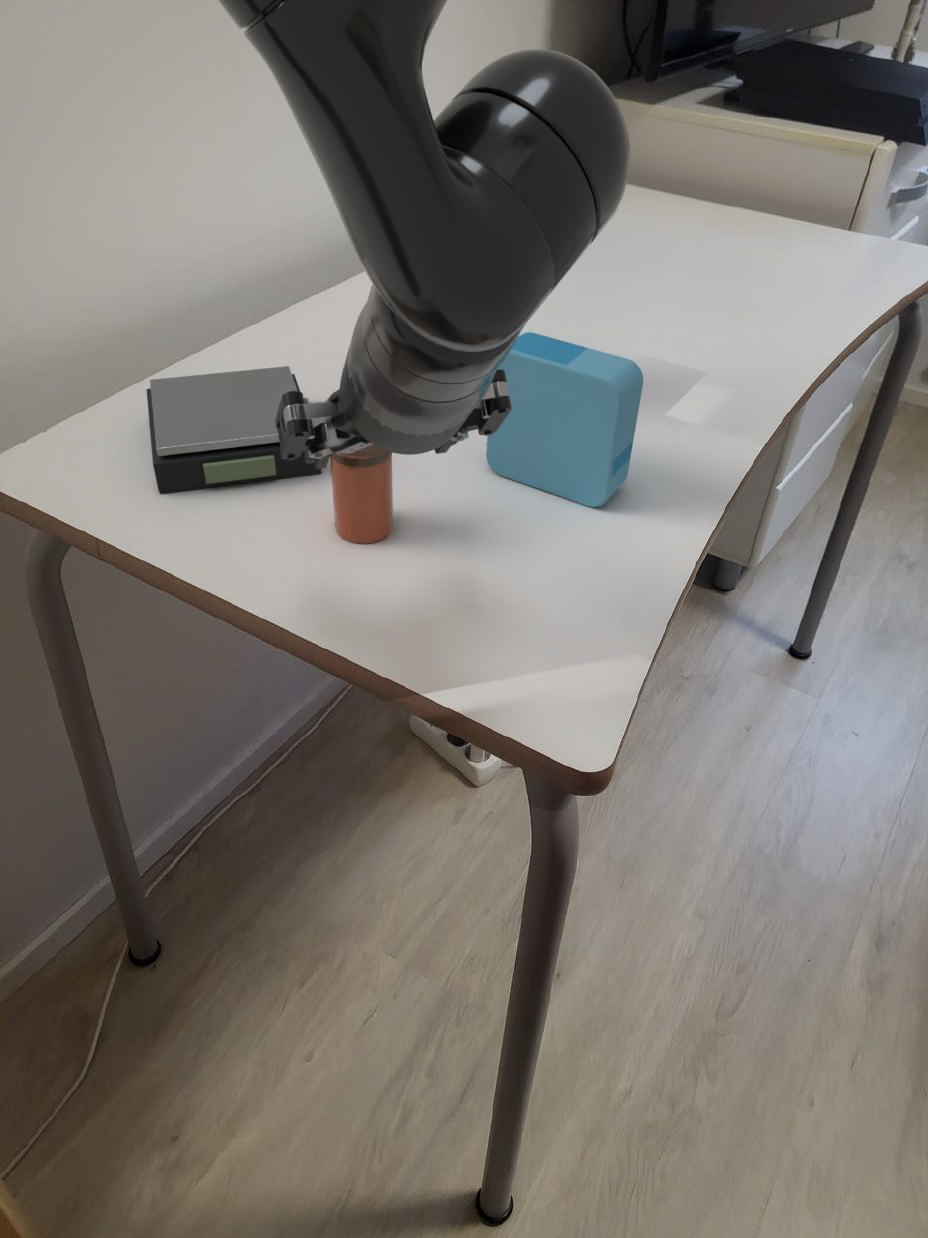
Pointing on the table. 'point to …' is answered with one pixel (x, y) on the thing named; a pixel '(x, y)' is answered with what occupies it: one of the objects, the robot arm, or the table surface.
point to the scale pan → (218, 409)
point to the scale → (223, 464)
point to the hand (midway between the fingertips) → (378, 447)
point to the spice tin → (362, 494)
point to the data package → (567, 419)
